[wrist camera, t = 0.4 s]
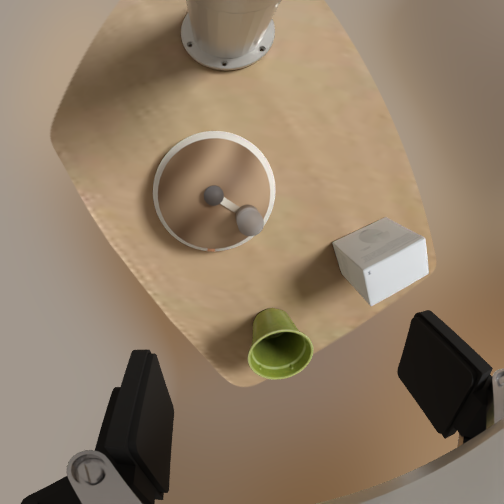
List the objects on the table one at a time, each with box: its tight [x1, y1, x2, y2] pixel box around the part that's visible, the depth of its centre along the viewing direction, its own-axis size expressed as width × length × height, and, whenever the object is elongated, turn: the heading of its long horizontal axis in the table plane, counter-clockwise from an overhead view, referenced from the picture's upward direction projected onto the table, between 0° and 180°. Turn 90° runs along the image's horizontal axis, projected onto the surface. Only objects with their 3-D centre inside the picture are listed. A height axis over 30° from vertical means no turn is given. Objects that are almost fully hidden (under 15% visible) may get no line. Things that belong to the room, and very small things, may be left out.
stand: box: [153, 131, 275, 251], centre depth 38 cm, size 16×16×2 cm
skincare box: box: [332, 217, 429, 306], centre depth 40 cm, size 10×6×10 cm, turn 113°
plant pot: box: [248, 308, 313, 379], centre depth 44 cm, size 9×9×9 cm
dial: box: [158, 138, 270, 249], centre depth 35 cm, size 14×14×5 cm
